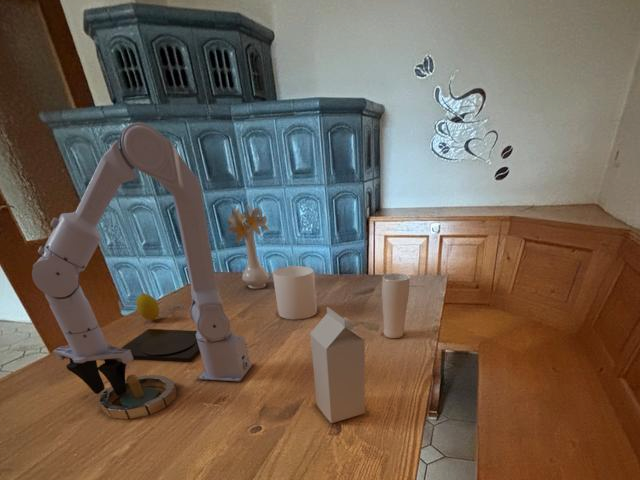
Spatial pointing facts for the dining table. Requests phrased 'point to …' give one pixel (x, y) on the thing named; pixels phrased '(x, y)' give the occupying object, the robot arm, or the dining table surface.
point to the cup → (295, 292)
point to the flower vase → (250, 243)
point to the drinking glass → (394, 303)
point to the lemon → (147, 306)
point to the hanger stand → (137, 393)
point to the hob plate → (164, 345)
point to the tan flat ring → (139, 409)
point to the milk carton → (338, 367)
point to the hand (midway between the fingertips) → (111, 392)
